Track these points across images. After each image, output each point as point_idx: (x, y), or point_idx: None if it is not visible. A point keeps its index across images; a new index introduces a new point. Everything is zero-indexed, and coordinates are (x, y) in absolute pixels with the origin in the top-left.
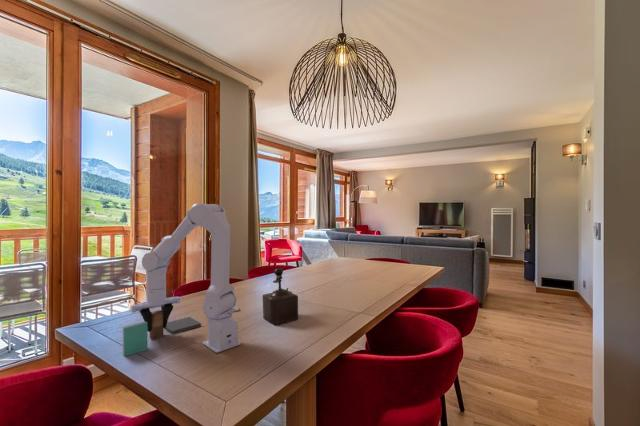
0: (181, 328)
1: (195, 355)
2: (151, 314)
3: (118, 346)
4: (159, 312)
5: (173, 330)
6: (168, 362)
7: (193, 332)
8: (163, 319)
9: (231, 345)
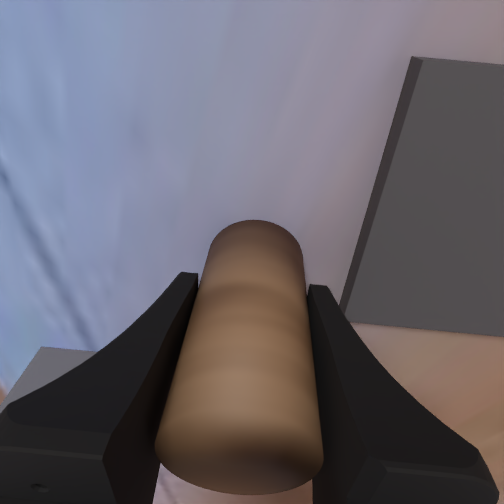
0: (418, 327)
1: (274, 499)
2: (167, 464)
3: (4, 231)
4: (259, 480)
5: (360, 319)
6: (188, 483)
7: (435, 370)
8: (314, 367)
9: None
